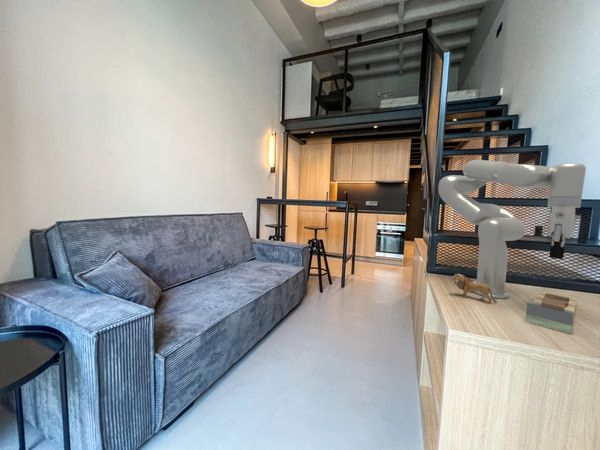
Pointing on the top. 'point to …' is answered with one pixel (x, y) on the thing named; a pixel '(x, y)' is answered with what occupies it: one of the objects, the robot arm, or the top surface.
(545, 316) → the end stop
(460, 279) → the lion figurine
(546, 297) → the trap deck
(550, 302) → the walnut block
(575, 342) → the top surface
